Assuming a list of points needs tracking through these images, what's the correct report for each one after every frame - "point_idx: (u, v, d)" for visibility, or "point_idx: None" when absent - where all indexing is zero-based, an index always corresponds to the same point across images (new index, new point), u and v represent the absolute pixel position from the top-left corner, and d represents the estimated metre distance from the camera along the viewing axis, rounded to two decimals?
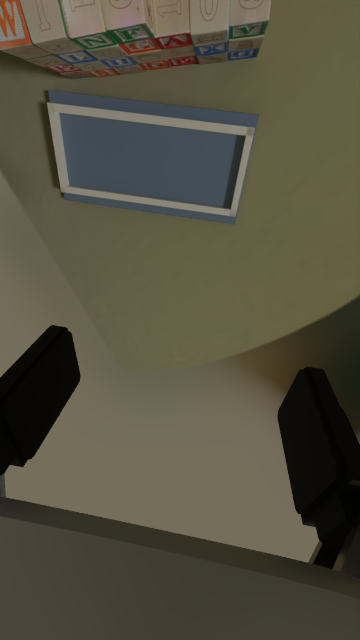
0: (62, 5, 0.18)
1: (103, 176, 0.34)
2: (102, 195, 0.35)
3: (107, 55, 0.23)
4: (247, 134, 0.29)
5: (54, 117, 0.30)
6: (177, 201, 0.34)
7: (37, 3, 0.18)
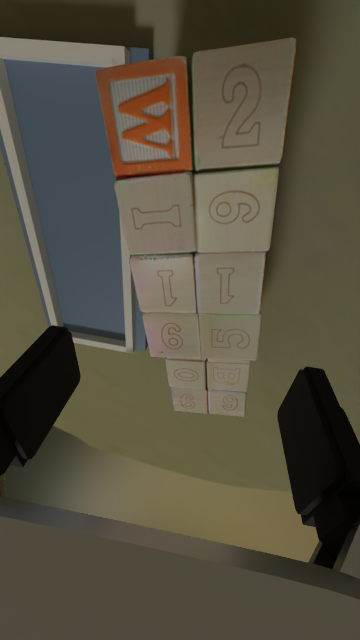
0: (163, 256, 0.11)
1: (44, 153, 0.20)
2: (9, 152, 0.19)
3: None
4: (126, 348, 0.29)
5: (104, 62, 0.15)
6: (49, 275, 0.25)
7: (163, 214, 0.10)
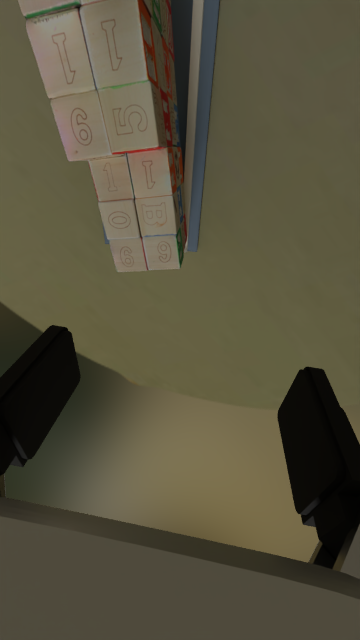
0: (53, 15, 0.12)
1: None
2: None
3: None
4: None
5: None
6: None
7: None
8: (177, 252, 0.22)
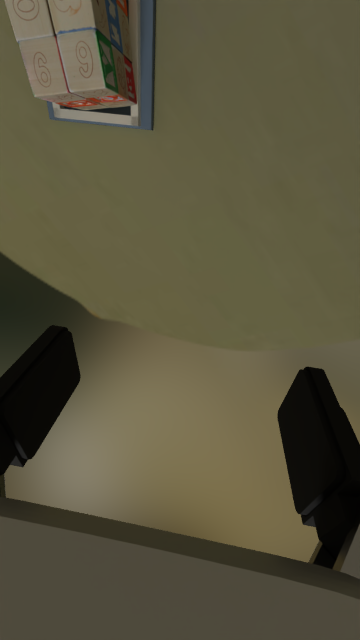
0: None
1: None
2: None
3: None
4: (132, 117, 0.27)
5: None
6: None
7: None
8: (100, 60, 0.18)
